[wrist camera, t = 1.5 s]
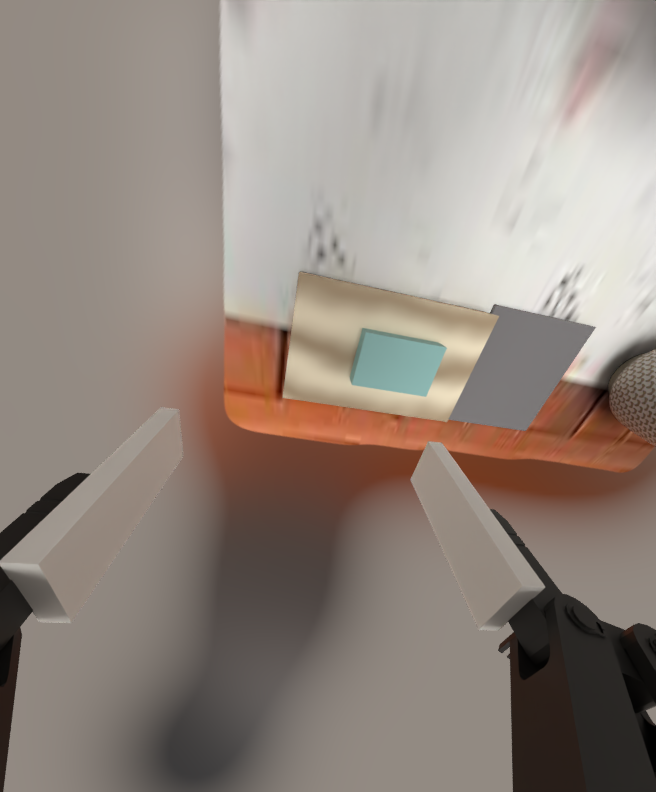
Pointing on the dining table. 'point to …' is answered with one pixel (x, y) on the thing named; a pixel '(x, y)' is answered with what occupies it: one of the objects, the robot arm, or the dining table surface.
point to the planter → (636, 395)
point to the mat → (518, 368)
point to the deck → (388, 312)
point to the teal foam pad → (396, 362)
